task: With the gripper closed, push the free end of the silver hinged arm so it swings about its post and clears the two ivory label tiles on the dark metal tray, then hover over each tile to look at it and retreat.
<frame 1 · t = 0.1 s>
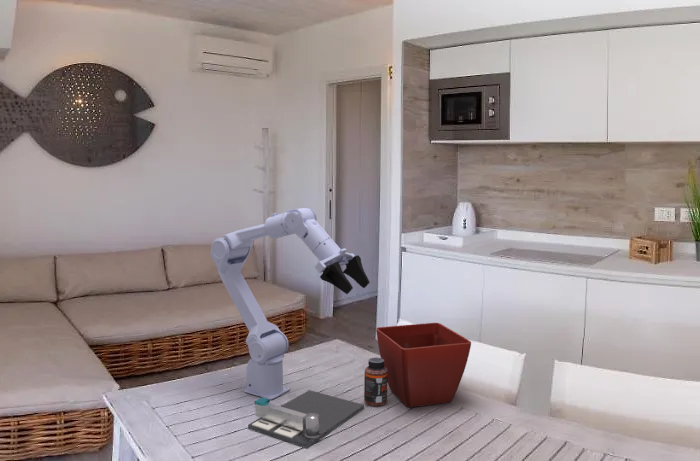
hand: (358, 288, 139), 32 cm above the table, tool tilted 50°, fingers open, 7 cm apart
label B: (289, 435, 134), resting on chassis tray
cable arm: (280, 413, 136), point 4 cm above the table, hinge at 0.0°
supplement bottle: (375, 402, 152), on the table
plant pot: (420, 396, 156), on the table
label A: (267, 428, 137), resting on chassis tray
pivot post: (312, 439, 132), resting on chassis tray
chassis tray: (308, 418, 142), on the table
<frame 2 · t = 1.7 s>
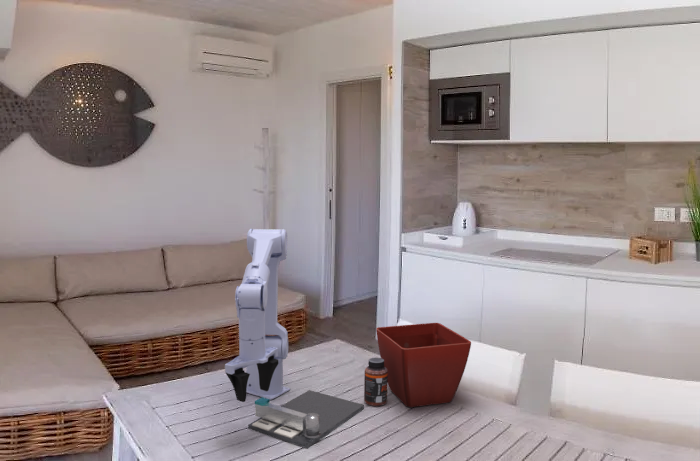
hand: (253, 395, 133), 9 cm above the table, tool pointing down, fingers open, 7 cm apart
nothing on the table moved.
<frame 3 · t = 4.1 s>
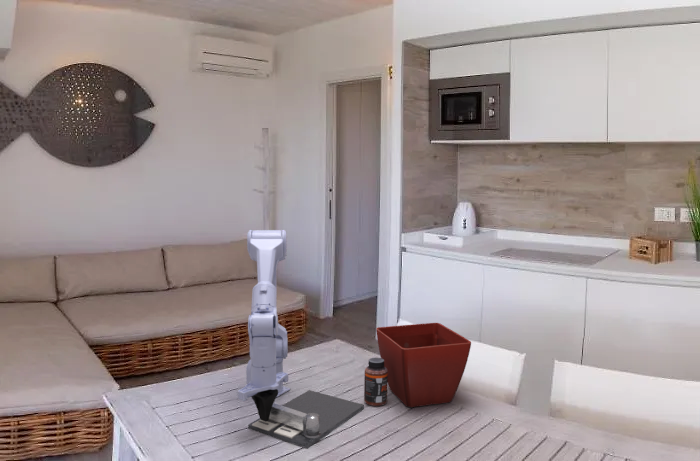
hand: (264, 419, 137), 2 cm above the table, tool pointing down, fingers closed
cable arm: (282, 413, 137), point 4 cm above the table, hinge at 3.1°, touching gripper
everything else where it was.
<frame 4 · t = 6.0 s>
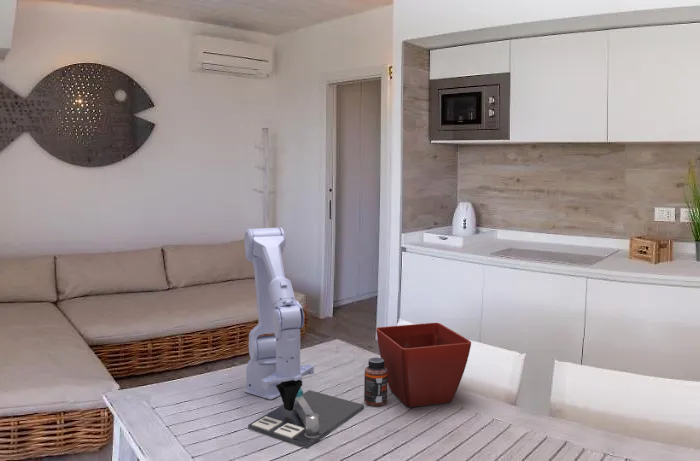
hand: (288, 409, 142), 2 cm above the table, tool pointing down, fingers closed
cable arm: (302, 407, 140), point 4 cm above the table, hinge at 38.9°, touching gripper
everything else where it was.
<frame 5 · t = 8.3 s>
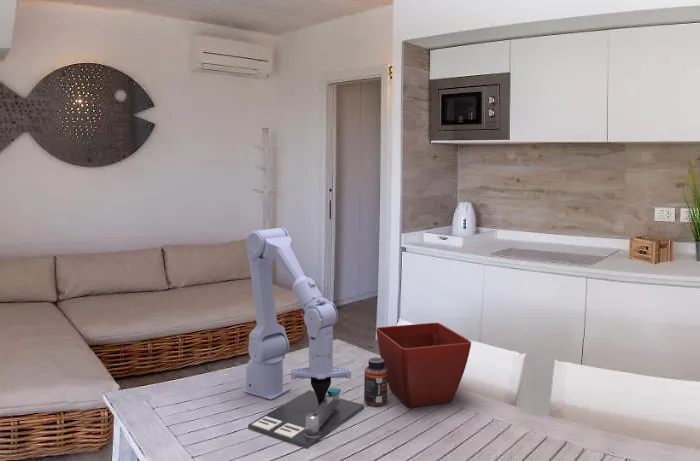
hand: (320, 406, 144), 2 cm above the table, tool pointing down, fingers closed
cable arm: (326, 407, 140), point 4 cm above the table, hinge at 75.4°, touching gripper
everything else where it was.
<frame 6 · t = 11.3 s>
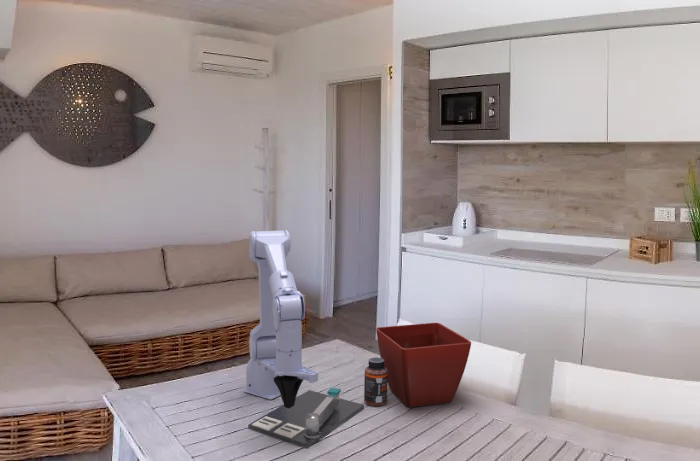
hand: (289, 406, 133), 7 cm above the table, tool pointing down, fingers closed
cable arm: (326, 407, 140), point 4 cm above the table, hinge at 75.4°
everything else where it was.
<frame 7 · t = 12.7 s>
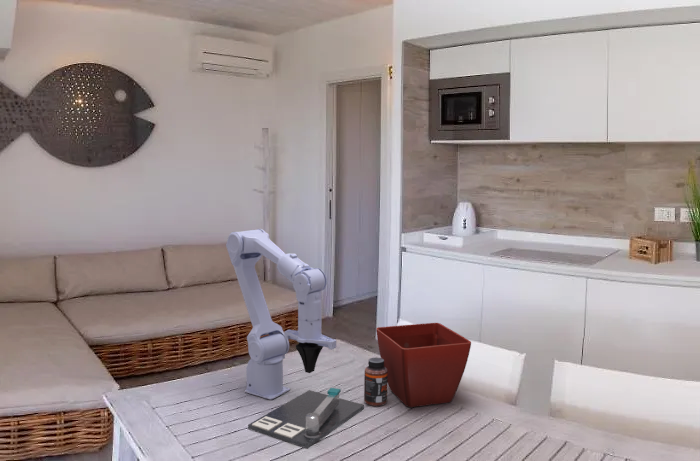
hand: (309, 371, 146), 10 cm above the table, tool pointing down, fingers closed
nothing on the table moved.
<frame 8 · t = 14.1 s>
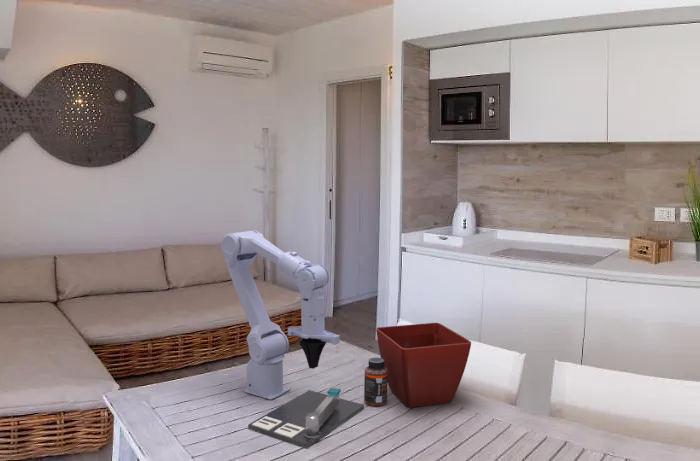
hand: (313, 367, 148), 10 cm above the table, tool pointing down, fingers closed
nothing on the table moved.
at the end: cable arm at +75° (first picture: +0°); supplement bottle moved 0.2 cm from its start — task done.
